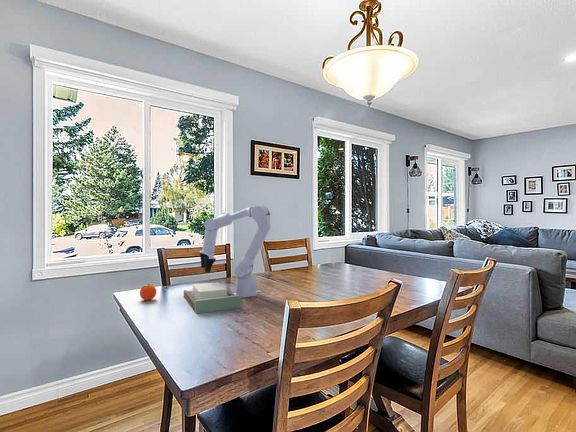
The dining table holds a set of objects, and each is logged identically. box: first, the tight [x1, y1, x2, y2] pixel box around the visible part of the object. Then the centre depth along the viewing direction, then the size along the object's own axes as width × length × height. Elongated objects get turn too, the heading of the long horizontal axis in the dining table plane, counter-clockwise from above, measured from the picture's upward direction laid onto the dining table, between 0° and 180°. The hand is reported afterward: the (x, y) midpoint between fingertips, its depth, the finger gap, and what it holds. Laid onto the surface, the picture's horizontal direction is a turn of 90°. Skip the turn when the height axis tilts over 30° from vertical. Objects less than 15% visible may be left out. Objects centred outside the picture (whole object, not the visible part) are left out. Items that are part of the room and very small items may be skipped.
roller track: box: [183, 289, 234, 313], centre depth 147 cm, size 18×24×3 cm
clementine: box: [138, 284, 157, 301], centre depth 147 cm, size 8×7×7 cm
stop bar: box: [194, 294, 241, 314], centre depth 135 cm, size 18×2×5 cm, turn 118°
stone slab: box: [192, 282, 228, 299], centre depth 148 cm, size 12×14×3 cm
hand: (205, 269), depth 162 cm, fingers open, 7 cm apart
